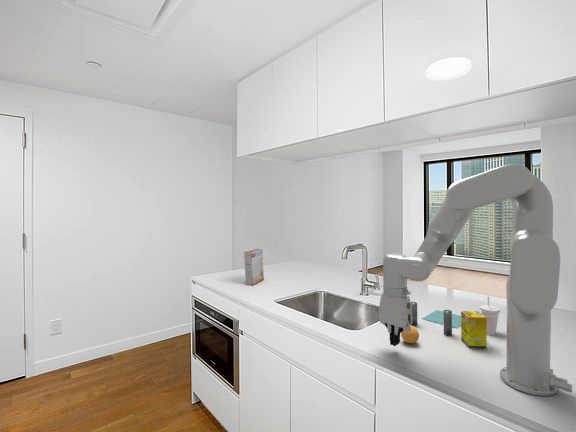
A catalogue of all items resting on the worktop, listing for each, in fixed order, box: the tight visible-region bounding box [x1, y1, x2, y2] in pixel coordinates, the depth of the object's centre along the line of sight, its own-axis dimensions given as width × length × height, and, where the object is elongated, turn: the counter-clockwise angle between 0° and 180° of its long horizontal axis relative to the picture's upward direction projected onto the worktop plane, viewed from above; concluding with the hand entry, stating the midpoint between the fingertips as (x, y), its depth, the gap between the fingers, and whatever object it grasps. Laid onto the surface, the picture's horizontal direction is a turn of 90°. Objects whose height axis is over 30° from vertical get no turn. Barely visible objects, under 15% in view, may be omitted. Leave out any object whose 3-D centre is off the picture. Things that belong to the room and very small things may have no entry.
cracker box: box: [243, 248, 265, 286], centre depth 200 cm, size 14×6×21 cm, turn 155°
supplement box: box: [460, 310, 488, 349], centre depth 108 cm, size 6×6×11 cm
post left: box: [410, 301, 418, 327], centre depth 127 cm, size 3×3×9 cm
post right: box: [443, 309, 453, 337], centre depth 117 cm, size 3×3×9 cm
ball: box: [400, 325, 420, 345], centre depth 111 cm, size 6×6×6 cm
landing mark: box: [421, 309, 461, 329], centre depth 132 cm, size 14×14×1 cm
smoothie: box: [479, 296, 501, 336], centre depth 117 cm, size 6×6×14 cm
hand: (394, 344), depth 105 cm, fingers closed
